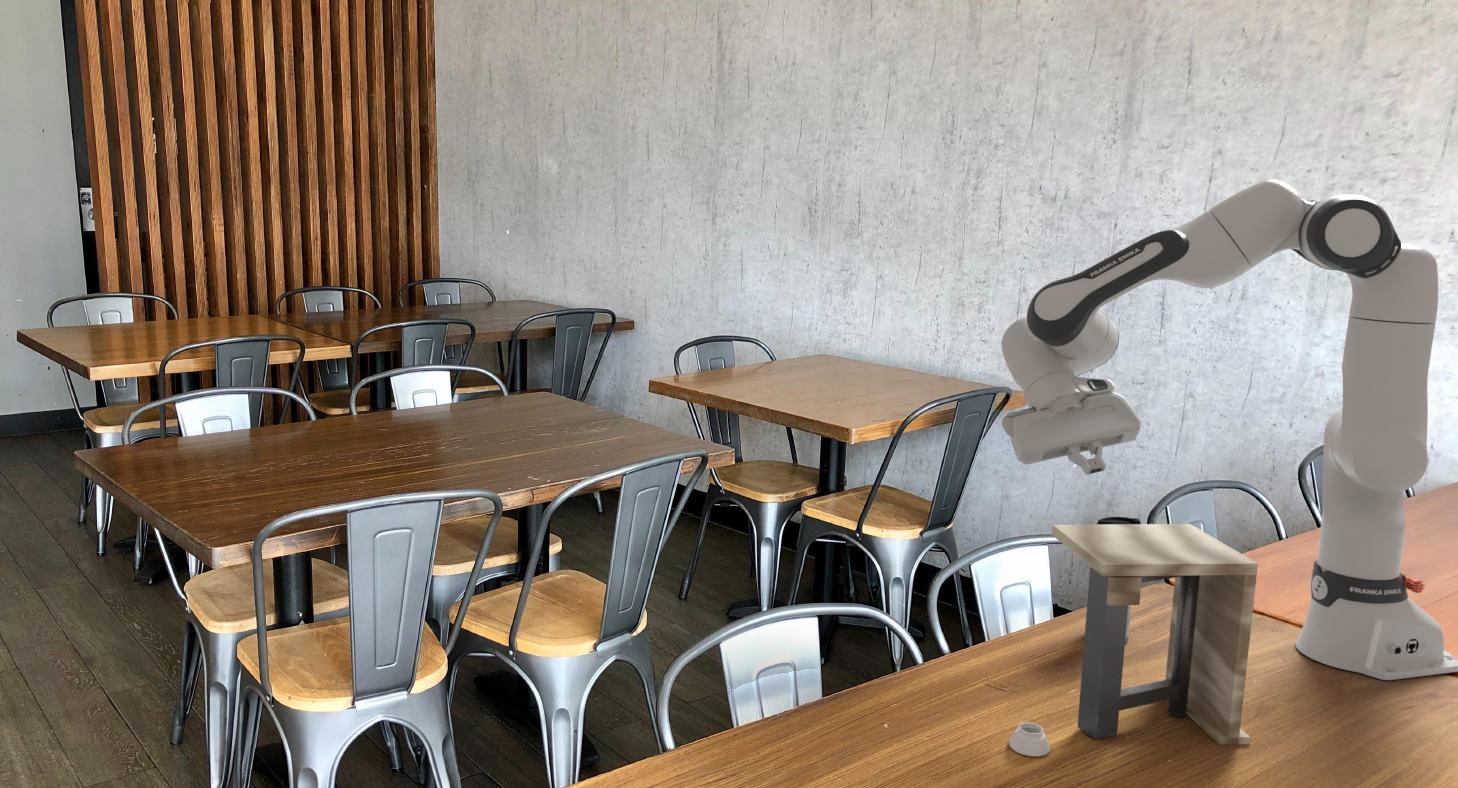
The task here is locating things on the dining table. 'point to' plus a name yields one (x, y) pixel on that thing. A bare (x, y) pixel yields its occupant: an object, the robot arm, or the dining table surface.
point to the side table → (1218, 606)
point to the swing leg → (1107, 655)
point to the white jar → (1030, 740)
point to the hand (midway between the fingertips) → (1096, 470)
